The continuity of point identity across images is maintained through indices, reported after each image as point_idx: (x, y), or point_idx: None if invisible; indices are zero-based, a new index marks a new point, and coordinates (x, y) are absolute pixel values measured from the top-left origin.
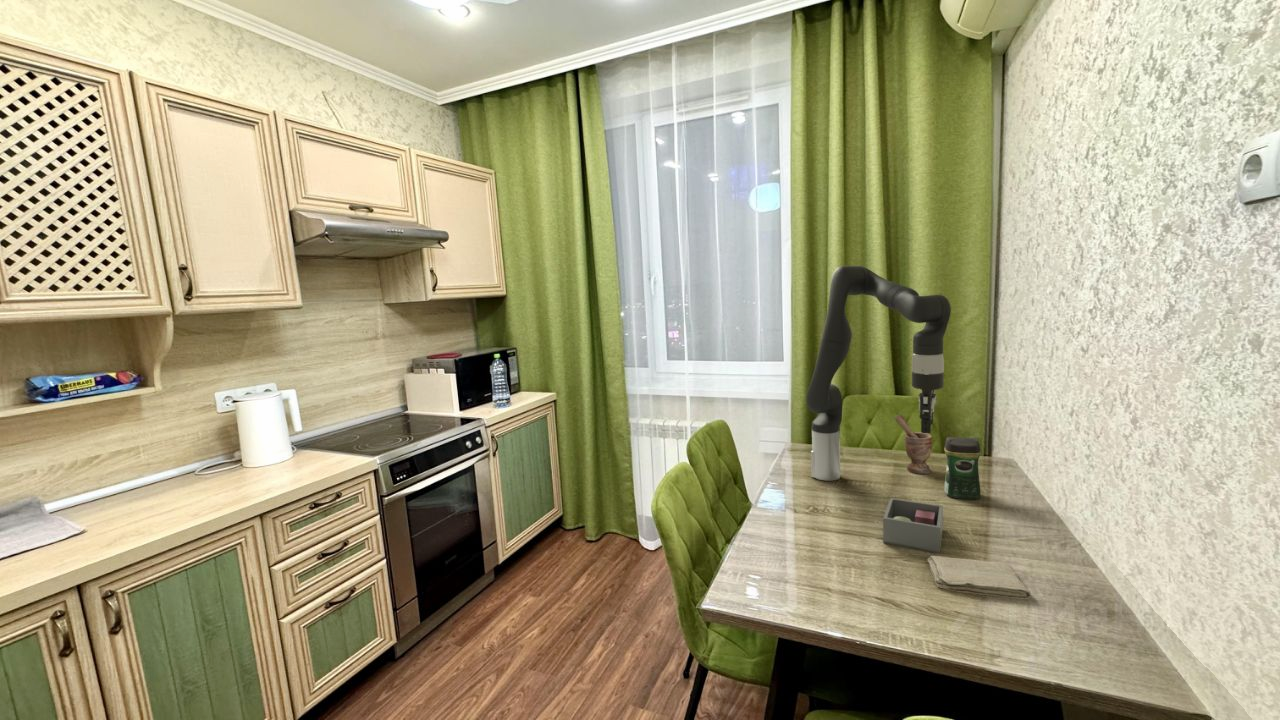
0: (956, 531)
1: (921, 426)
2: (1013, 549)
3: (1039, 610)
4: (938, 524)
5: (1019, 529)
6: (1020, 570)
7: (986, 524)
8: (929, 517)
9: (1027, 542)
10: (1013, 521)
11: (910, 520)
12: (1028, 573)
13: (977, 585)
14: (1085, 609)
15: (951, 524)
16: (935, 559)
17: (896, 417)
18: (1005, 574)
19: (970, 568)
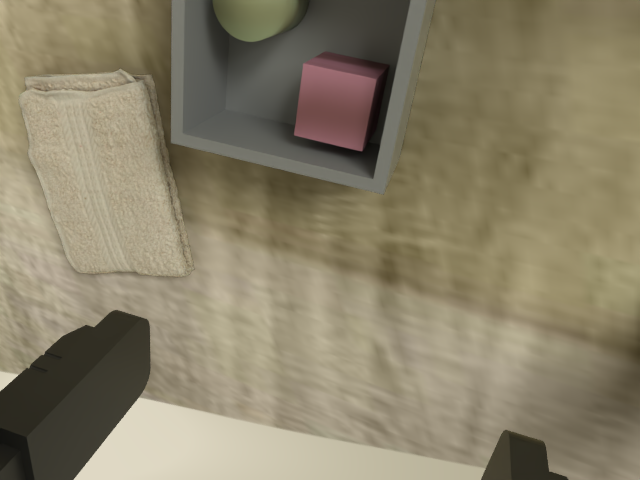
0: (396, 199)
1: (71, 354)
2: (313, 314)
3: (59, 266)
4: (196, 141)
5: (450, 372)
6: (205, 290)
7: (473, 302)
8: (308, 121)
9: (366, 359)
10: (510, 379)
11: (255, 39)
12: (198, 301)
13: (37, 174)
14: None
15: (453, 196)
16: (117, 94)
17: None
18: (119, 250)
19: (108, 179)
